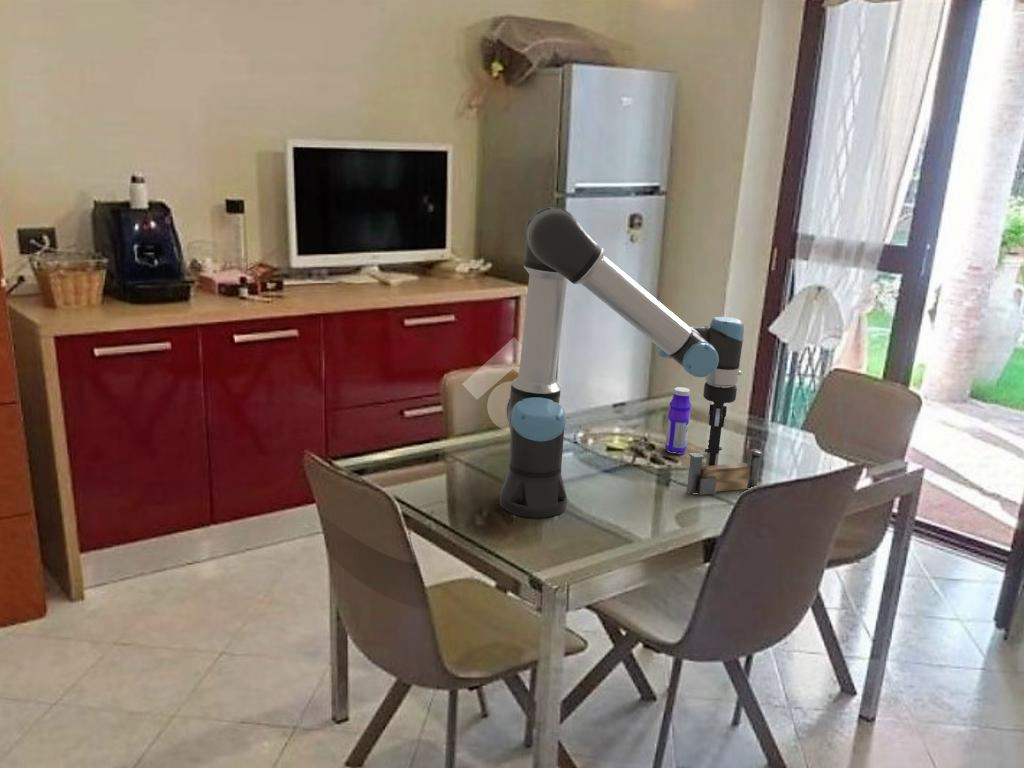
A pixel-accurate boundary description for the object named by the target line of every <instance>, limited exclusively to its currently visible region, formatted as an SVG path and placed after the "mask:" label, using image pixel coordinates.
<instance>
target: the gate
mask: <svg viewBox="0 0 1024 768" xmlns="http://www.w3.org/2000/svg"><path fill="white" fill-rule="evenodd" d="M749 465H750V464H747V463H746V462H741V463H727V464H717V465H713V466H706V465H704V466H701V474H700V477H714V476H715V477H716V478H717V481H716V489H715V493H716V492H724V491H736V490H737V491H738V490H748V489H747V485H748V477H749V470H750V466H749Z"/></svg>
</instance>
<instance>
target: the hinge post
mask: <svg viewBox="0 0 1024 768" xmlns="http://www.w3.org/2000/svg"><path fill="white" fill-rule="evenodd" d="M748 453H749V454H750V458H749V464H748V465H749V466H750V470H749V477H748V485H747V488H751V487H754V486H757V487H758V481H759V473H760V467H761V461H762V456H763V455H764V451H763V450H761V449H759V448H752V449H749V452H748Z"/></svg>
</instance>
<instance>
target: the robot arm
mask: <svg viewBox="0 0 1024 768" xmlns="http://www.w3.org/2000/svg"><path fill="white" fill-rule="evenodd" d="M524 237H525V238H524V239H525V248H524V249H525V251H524V258H523V259H524V260H523V261H524V262H523V268H524V269H525V270H526V272H527V273H528V275H529V277H528V286H527V294H526V305H525V306H526V307H525V314H524V325H523V334H522V342H521V353H520V363H519V370H518V376H517V377H515V378H514V379H513V380H511V384H510V395H509V398H508V403H507V404H506V417H507V421H508V426H509V433H510V445H509V446H510V447H509V448H510V450H509V464H508V465H509V466H508V467H509V468H508V472H507V475H506V477H505V480H504V482H503V485H502V487H501V489H500V492H499V505H500V507H501V508H502V509H503V510H504V511H506V512H507V513H510V514H512V515H516V516H519V517H525V518H534V519H538V518H539V519H541V518H551V517H555V516H558V515H560V514H562V513H563V512H564V511H566V509H567V501H568V497H567V491H566V488H565V484H564V481H563V477H562V463H563V462H562V461H563V452H564V450H563V449H564V439H565V438H564V437H565V435H564V434H565V428H566V422H567V421H566V414H565V412H566V411H565V410H564V408H563V406H562V405H561V404H560V399H561V390H562V388H561V385H560V384H559V383H558V381H557V378H556V377H557V369H558V362H559V361H558V360H559V352H560V345H561V344H560V343H561V335H562V329H563V327H562V326H563V318H564V308H565V302H566V301H565V300H566V293H567V292H566V291H567V284H568V281H569V282H570V283H571V284H572V285H582V286H583V287H585V289H587V290H588V291H589V292H591V294H593V295H595V297H596V298H598V299H599V300H600V301H602V302H603V303H604V304H605V305H606V306H608V307H609V308H610V309H612V310H613V311H614V312H615V313H616V314H618V315H619V316H620V317H621V318H623V319H624V320H625V321H626V322H628V323H629V324H630V325H631V326H632V327H634V328H635V329H636V330H637V331H638V332H639V333H641V334H642V335H643V336H645V337H646V338H647V339H648V340H649V341H650V342H652V343H653V344H654V345H656V352H657V354H658V356H659V357H660V358H668V359H672V360H674V361H675V362H676V363H678V364H679V365H680V366H681V367H682V368H683V369H684V370H685V372H687V373H688V374H689V375H691V376H693V377H697V378H704V381H705V382H704V385H703V386H704V387H703V398H704V399H705V400H706V401H709V402H713V403H712V404H711V403H710V404H709V409H708V410H709V411H708V415H709V421H708V422H709V423H708V425H709V426H710V429H709V438H708V440H707V443H708V445H707V448H704V453H706V459H705V466H713V465H719V464H718V463H719V455H720V451H722V449H723V446H720V445H721V444H720V443H721V435H722V434H721V433H722V428H723V427H724V425H725V418H726V417H727V410H728V409H727V406H728V405H725V404H729V403H730V404H732V403H733V402H735V401H736V399H737V389H738V386H737V384H738V380H739V376H741V375H742V371H741V370H740V364H741V363H740V362H741V357H742V349H743V342H744V327H745V325H744V323H743V321H742V320H740V319H738V318H736V317H729V316H716V317H713V318H711V321H710V324H709V325H707V326H705V325H704V326H703V325H702V326H700V325H696V326H695V325H688V324H687V323H686V322H684V321H683V320H682V319H681V318H679V316H677V315H676V314H675V313H674V312H673V311H671V310H670V309H669V308H667V307H666V306H665V305H664V304H663V303H661V301H659V300H658V299H657V298H656V297H654V296H653V295H652V294H651V293H650V292H648V291H647V290H646V289H645V288H644V287H642V286H641V285H640V284H639V283H637V281H635V279H633V278H632V277H630V276H629V275H628V274H627V273H625V271H624V270H622V269H620V268H619V267H618V266H617V265H616V264H615V263H614V262H612V261H611V260H610V259H609V258H608V257H606V256H605V255H604V254H605V253H604V248H603V247H602V246H600V245H599V244H598V242H596V241H595V240H594V239H593V238H592V237H591V235H589V234H588V233H587V232H586V230H585V229H584V228H583V227H582V225H581V224H580V222H579V221H578V220H577V219H576V218H575V217H574V216H573V214H571V212H569V211H567V210H566V209H564V208H560V207H556V206H554V207H545V208H541V209H540V210H538V211H536V212H534V214H533V215H531V217H530V218H529V219H528V222H527V223H526V226H525V229H524Z"/></svg>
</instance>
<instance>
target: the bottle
mask: <svg viewBox="0 0 1024 768" xmlns="http://www.w3.org/2000/svg"><path fill="white" fill-rule="evenodd" d="M673 389H674V390H673V396H672V399H671V401H670V402H669V407H670V408H669V411H668V417H667V419H668V420H667V430H666V436H665V443H664V445H665V450H668V451H670V452H676V453H683V454H684V453H685V452H686V450H687V447H688V445H687V443H688V434H689V433H688V431H689V424H690V420H691V410H690V409H691V408H692V404H691V402H690V392H691V390H690V389H689V388H688V387H681V386H678V387H675V388H673Z"/></svg>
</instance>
